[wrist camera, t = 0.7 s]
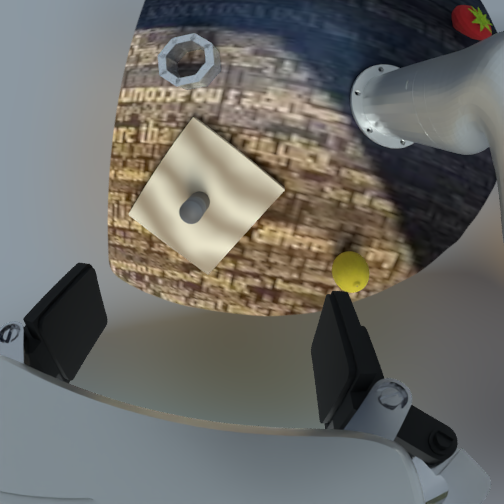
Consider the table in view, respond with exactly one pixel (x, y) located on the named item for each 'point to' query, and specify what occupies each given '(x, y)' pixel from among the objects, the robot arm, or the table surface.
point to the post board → (217, 182)
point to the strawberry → (471, 22)
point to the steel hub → (175, 53)
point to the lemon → (350, 271)
